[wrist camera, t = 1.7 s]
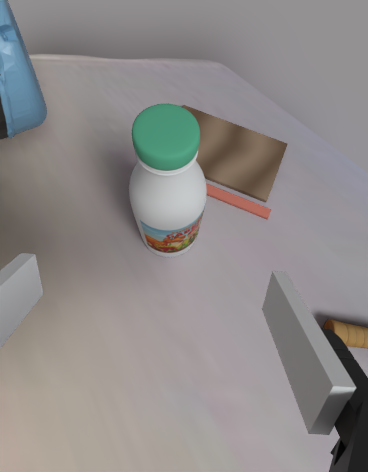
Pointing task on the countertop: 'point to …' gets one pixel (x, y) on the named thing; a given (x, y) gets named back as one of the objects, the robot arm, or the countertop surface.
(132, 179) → the milk bottle
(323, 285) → the countertop surface
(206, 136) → the board
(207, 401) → the countertop surface
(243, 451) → the countertop surface
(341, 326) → the kendama
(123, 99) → the countertop surface
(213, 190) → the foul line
